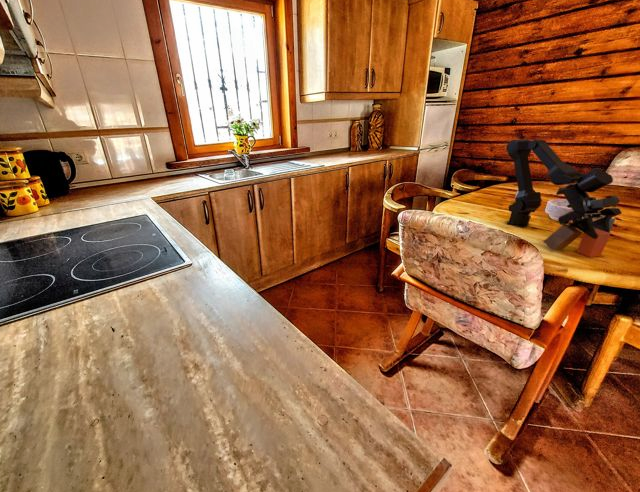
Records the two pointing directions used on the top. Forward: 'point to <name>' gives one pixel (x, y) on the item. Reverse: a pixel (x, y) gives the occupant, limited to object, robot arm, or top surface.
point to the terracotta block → (593, 244)
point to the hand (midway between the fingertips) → (602, 237)
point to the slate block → (609, 223)
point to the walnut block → (562, 237)
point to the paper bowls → (557, 208)
